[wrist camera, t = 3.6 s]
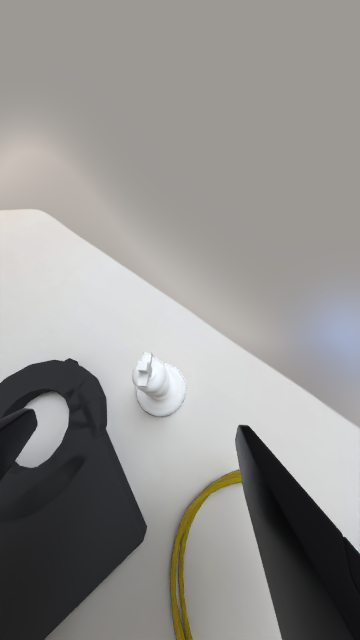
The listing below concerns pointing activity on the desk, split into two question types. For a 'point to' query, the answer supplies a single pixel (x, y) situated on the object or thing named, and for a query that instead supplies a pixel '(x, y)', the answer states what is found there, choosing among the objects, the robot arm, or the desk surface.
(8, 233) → the desk surface
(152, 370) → the chess piece
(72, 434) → the socket pad
